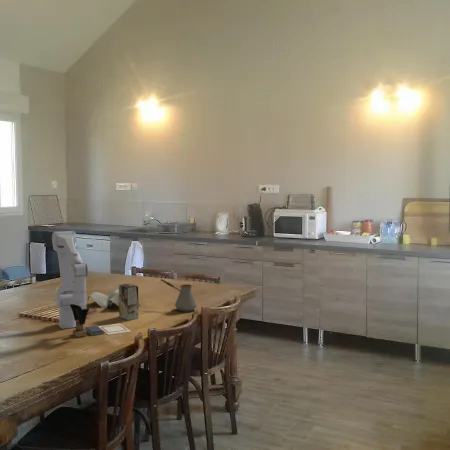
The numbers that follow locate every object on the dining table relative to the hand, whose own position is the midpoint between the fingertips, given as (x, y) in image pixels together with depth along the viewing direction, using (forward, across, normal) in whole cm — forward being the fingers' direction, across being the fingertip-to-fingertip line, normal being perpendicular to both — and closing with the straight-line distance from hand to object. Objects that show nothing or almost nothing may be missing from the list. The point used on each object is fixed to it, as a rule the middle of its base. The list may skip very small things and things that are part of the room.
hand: (79, 322), depth 241 cm
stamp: (+6, 0, 0) cm, 6 cm away
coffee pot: (+6, -24, +58) cm, 64 cm away
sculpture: (+6, -47, +31) cm, 56 cm away
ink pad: (+6, -2, +7) cm, 9 cm away
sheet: (+6, -2, +16) cm, 17 cm away
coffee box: (+6, -19, +30) cm, 36 cm away
